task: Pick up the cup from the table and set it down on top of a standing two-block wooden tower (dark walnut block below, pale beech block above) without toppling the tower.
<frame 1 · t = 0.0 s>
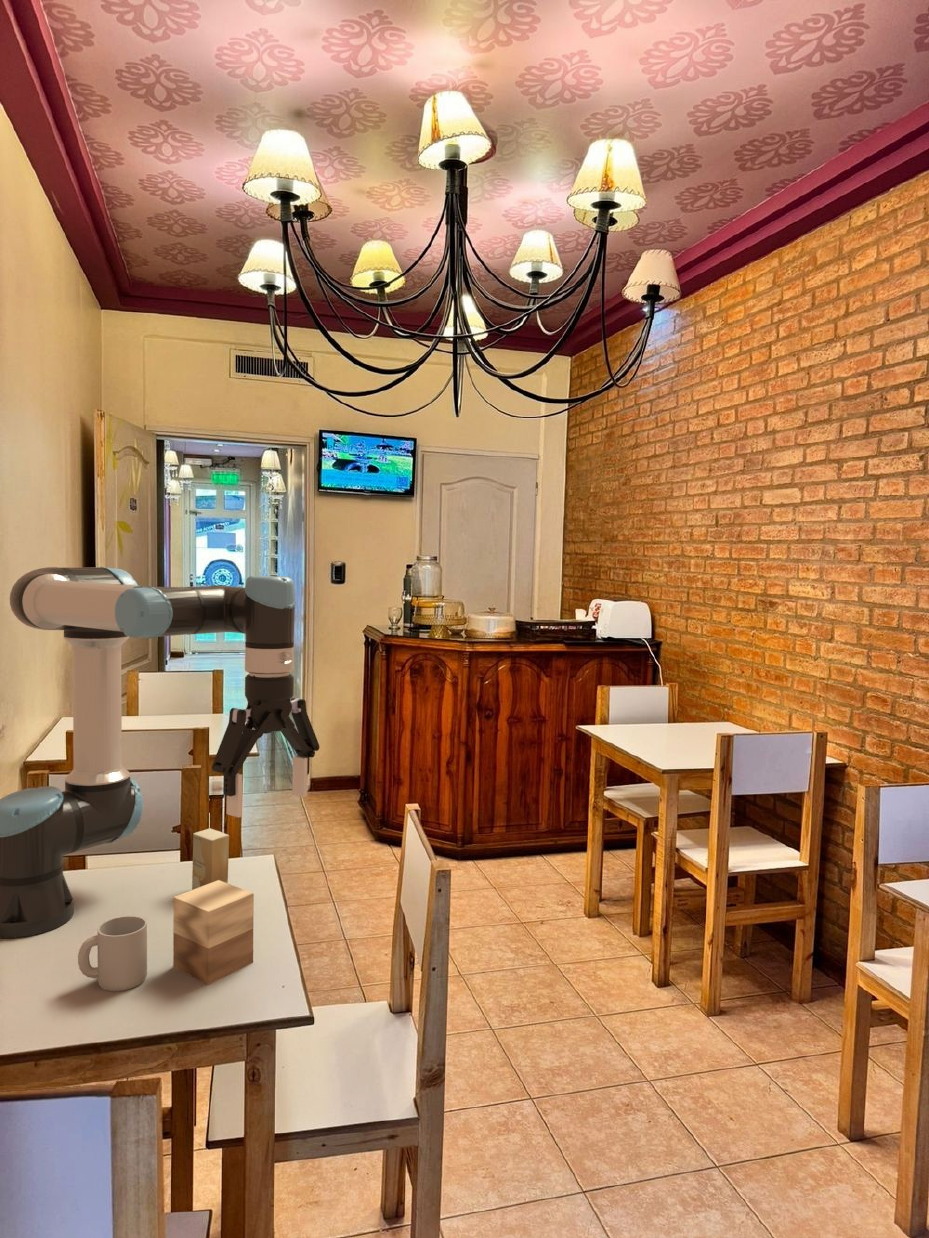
hand: (268, 805, 129), 28 cm above the table, fingers open, 13 cm apart
beech block: (213, 930, 133), point 6 cm above the table, touching walnut block
cup: (113, 983, 128), on the table
walnut block: (213, 965, 134), on the table, touching beech block
skincare box: (210, 893, 162), on the table
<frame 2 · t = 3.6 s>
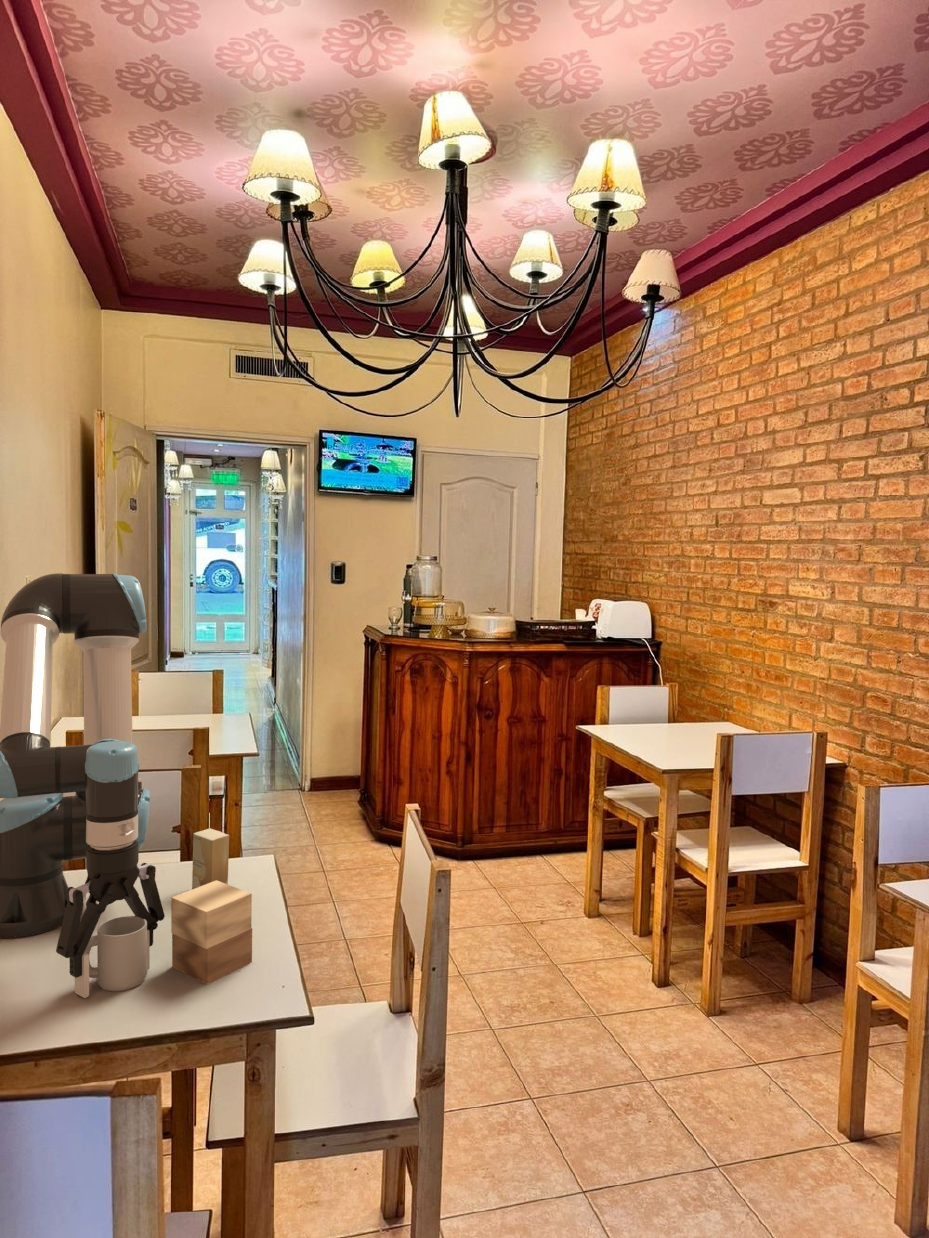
hand: (113, 980, 128), 0 cm above the table, fingers open, 10 cm apart
cup: (113, 983, 128), on the table, touching gripper
everything else where it was.
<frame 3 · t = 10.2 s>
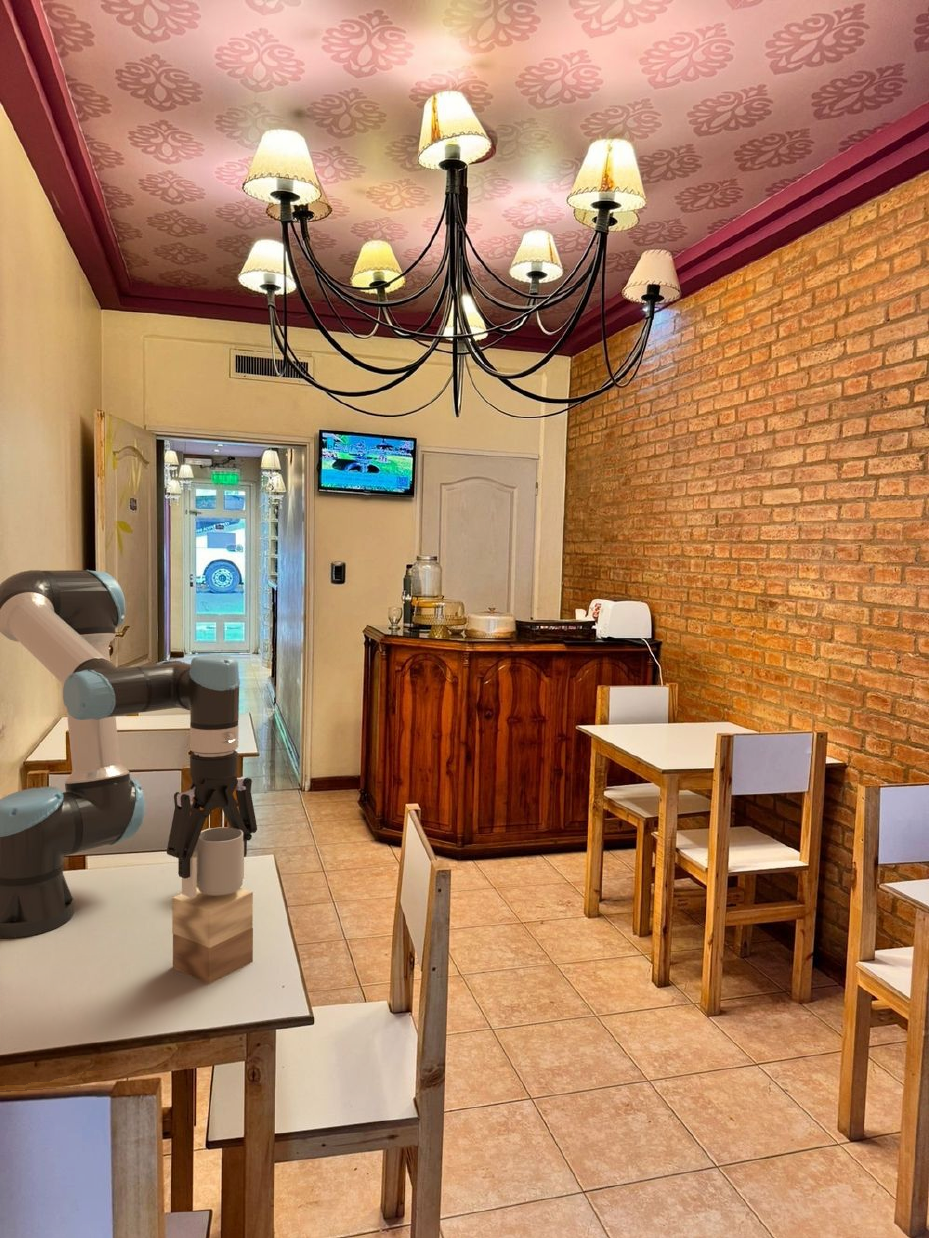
hand: (213, 886, 133), 13 cm above the table, fingers closed on cup, 9 cm apart
cup: (211, 889, 133), point 13 cm above the table, touching gripper
everything else where it was.
when the fingers open (13 cm above the table, at t = 10.2 s): cup drops 1 cm, resting on beech block.
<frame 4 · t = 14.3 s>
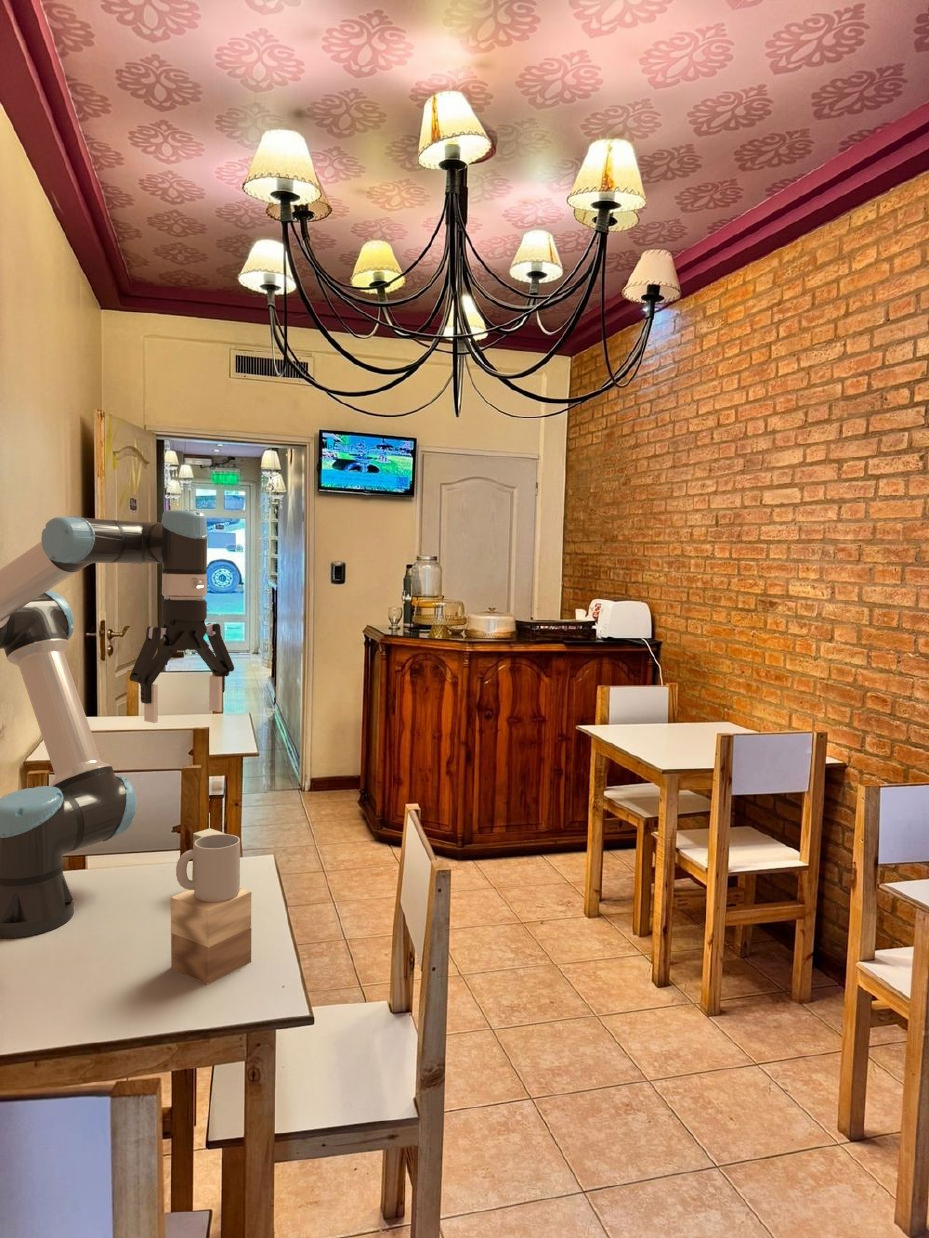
hand: (184, 716, 145), 39 cm above the table, fingers open, 13 cm apart
beech block: (211, 929, 134), point 6 cm above the table, touching cup, walnut block
cup: (208, 896, 133), point 12 cm above the table, touching beech block
everything else where it was.
at the end: cup inside the target area on the beech block (0.5 cm from its centre), point 5.8 cm above the beech block's base; beech block 0.2 cm off-centre on the walnut block, point 6.0 cm above the walnut block's base; cup tilted 0° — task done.
